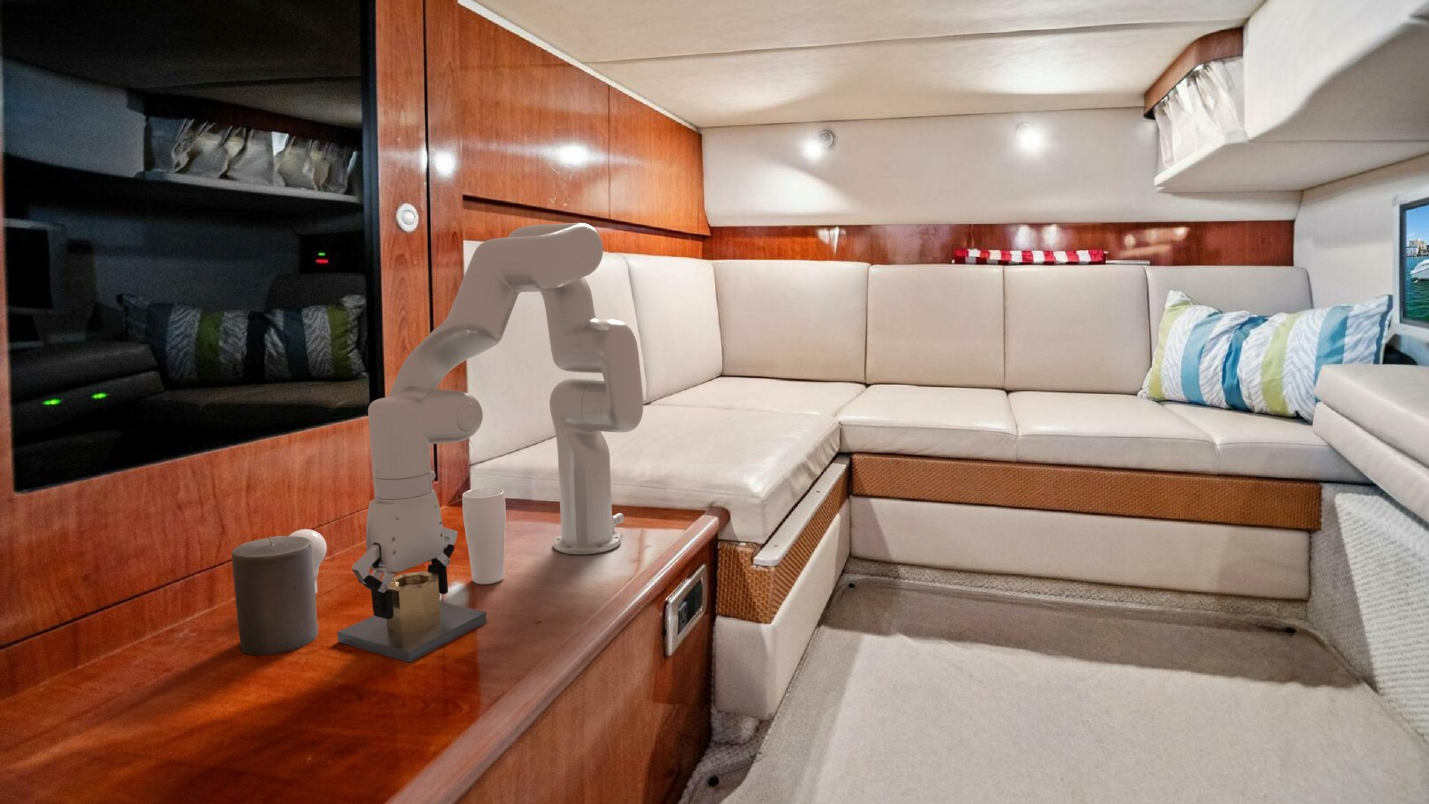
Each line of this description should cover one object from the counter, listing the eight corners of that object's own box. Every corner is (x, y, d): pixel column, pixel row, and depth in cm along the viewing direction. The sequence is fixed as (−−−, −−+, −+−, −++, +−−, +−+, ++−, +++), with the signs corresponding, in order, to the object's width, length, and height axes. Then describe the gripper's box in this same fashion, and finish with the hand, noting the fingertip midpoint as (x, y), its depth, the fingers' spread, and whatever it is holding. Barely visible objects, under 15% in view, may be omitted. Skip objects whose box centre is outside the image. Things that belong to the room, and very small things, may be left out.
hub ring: (416, 608, 117) (413, 569, 116) (451, 616, 113) (448, 576, 113) (377, 626, 111) (373, 585, 110) (412, 635, 107) (409, 593, 106)
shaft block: (418, 605, 121) (415, 565, 120) (486, 622, 115) (484, 579, 114) (338, 642, 109) (334, 597, 108) (409, 662, 103) (406, 615, 102)
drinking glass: (497, 588, 128) (492, 498, 126) (459, 586, 129) (453, 497, 127) (516, 573, 134) (511, 488, 132) (479, 571, 136) (474, 486, 134)
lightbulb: (296, 590, 129) (290, 525, 127) (337, 588, 129) (331, 523, 128) (278, 605, 122) (271, 537, 121) (321, 603, 123) (314, 535, 121)
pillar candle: (237, 662, 104) (227, 552, 102) (242, 634, 112) (232, 532, 110) (320, 646, 108) (311, 541, 106) (318, 620, 117) (310, 522, 115)
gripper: (432, 470, 118) (440, 579, 121) (329, 498, 103) (340, 622, 106) (469, 475, 115) (476, 587, 117) (368, 504, 100) (379, 633, 102)
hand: (412, 604), depth 111 cm, fingers open, 9 cm apart
